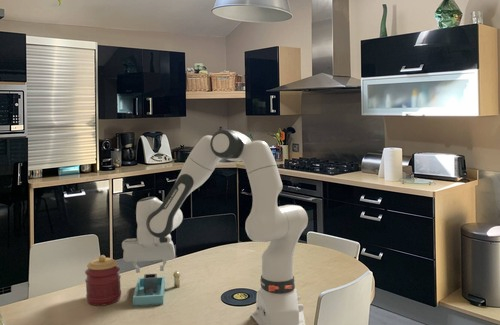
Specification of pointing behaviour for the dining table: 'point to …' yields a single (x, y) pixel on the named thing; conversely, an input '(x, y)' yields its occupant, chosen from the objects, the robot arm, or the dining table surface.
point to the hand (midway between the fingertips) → (150, 271)
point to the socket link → (150, 284)
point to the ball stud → (176, 279)
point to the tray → (149, 300)
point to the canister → (103, 281)
